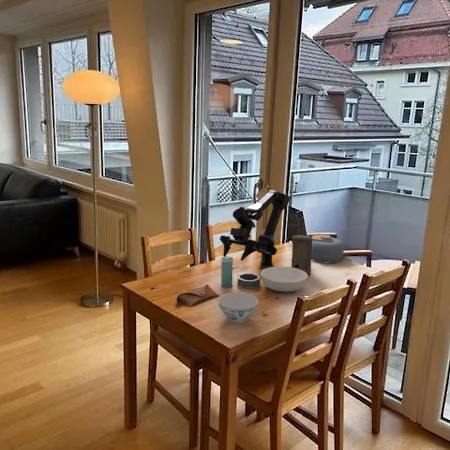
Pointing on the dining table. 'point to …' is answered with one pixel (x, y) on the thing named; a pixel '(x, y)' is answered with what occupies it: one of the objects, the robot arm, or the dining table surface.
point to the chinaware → (238, 306)
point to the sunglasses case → (196, 296)
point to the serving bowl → (284, 278)
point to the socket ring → (248, 280)
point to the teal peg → (226, 271)
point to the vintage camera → (302, 253)
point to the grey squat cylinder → (326, 248)
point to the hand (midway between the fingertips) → (232, 258)
